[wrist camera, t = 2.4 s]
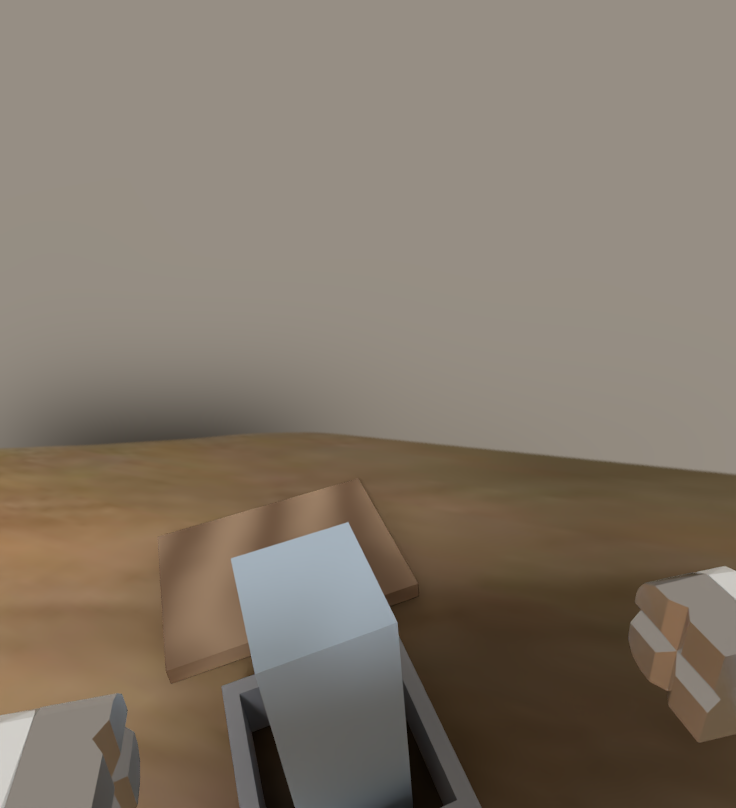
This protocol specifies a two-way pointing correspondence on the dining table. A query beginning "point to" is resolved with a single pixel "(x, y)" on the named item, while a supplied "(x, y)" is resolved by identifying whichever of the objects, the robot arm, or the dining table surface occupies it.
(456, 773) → the gray bin
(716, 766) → the dining table surface
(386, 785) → the slate box
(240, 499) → the dining table surface
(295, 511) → the walnut board
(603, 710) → the dining table surface
